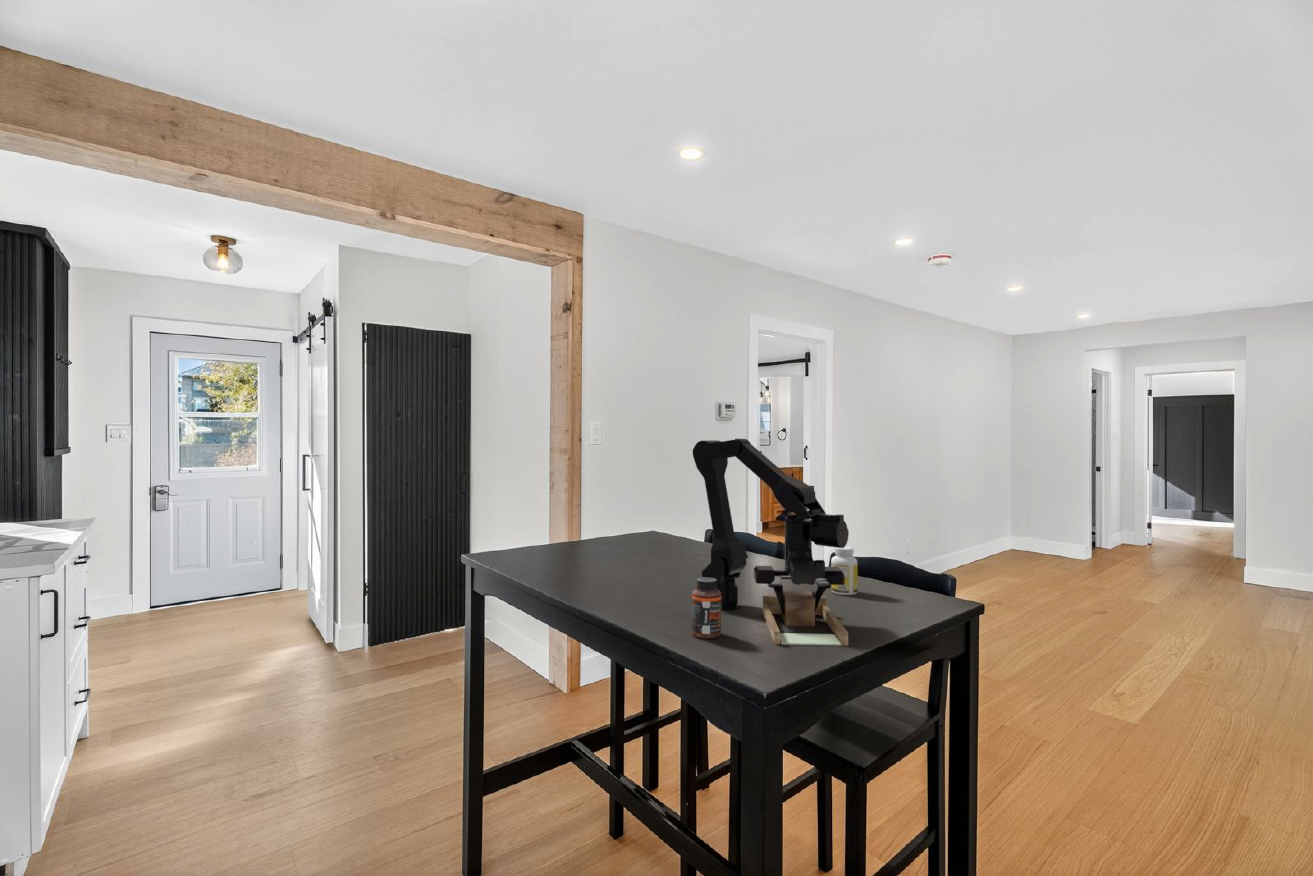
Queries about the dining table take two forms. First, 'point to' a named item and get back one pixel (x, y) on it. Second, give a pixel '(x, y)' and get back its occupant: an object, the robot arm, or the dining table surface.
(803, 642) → the front pad
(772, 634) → the bay
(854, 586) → the pill bottle
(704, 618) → the supplement bottle
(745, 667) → the dining table surface
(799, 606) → the crate
